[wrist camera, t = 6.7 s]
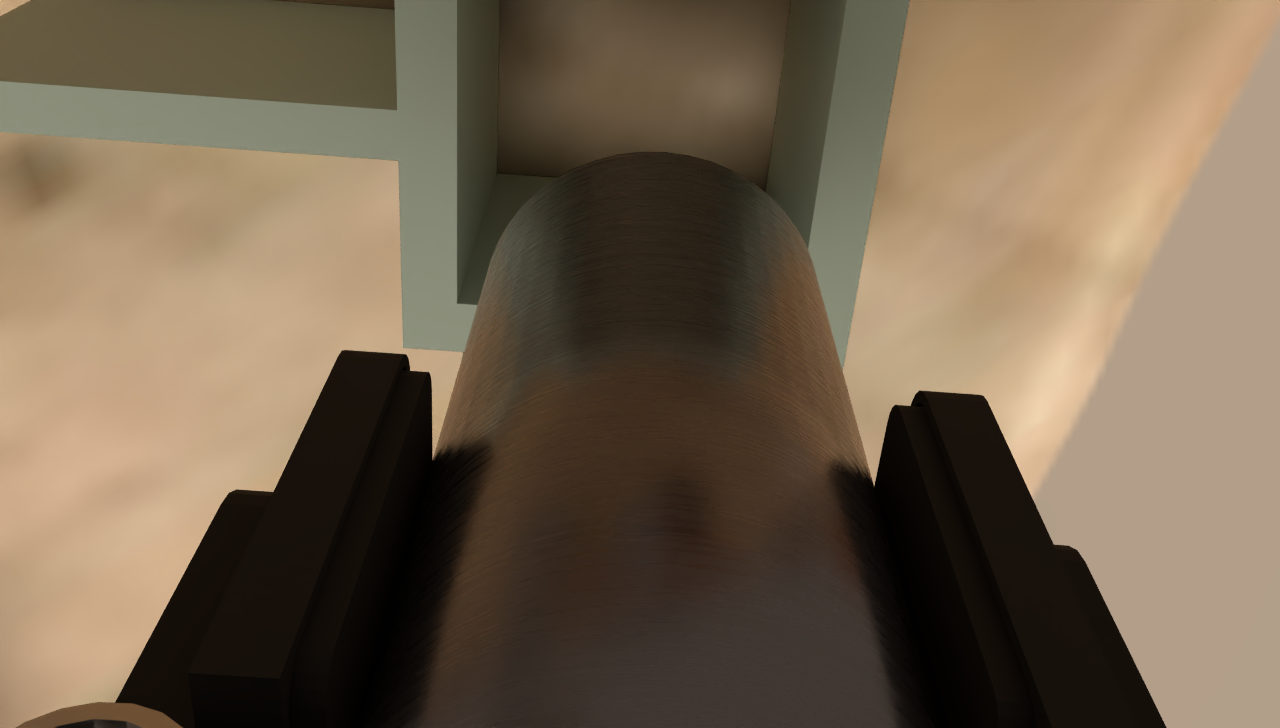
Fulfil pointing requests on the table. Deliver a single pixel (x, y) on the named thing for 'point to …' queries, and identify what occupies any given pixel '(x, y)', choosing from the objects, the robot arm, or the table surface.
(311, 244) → the table surface
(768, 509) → the cylindrical canister
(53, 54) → the grey-green frame piece
